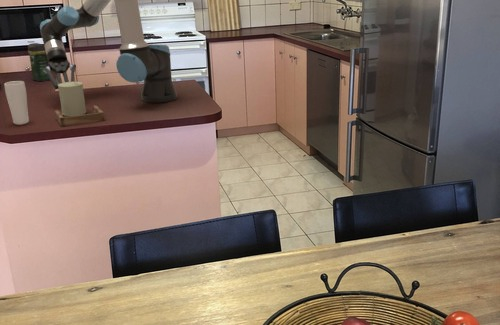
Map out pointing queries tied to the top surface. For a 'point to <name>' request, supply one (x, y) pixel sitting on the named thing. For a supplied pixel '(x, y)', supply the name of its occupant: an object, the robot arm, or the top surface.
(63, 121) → the corral
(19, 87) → the drinking glass
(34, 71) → the coffee jar
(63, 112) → the can
